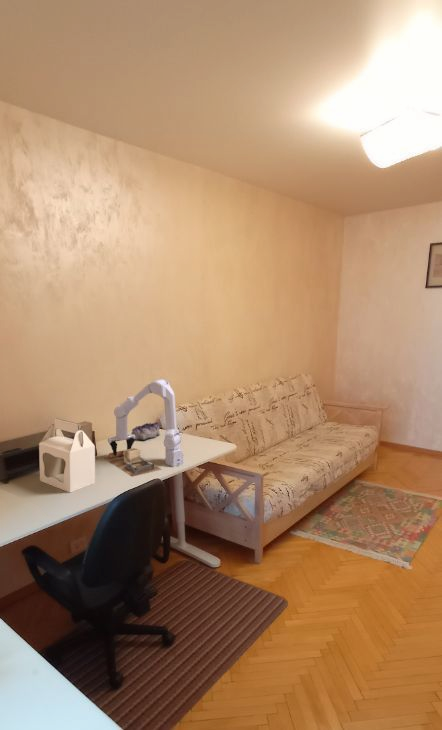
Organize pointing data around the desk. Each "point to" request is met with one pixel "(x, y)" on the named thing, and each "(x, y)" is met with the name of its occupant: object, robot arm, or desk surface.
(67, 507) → the desk surface
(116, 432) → the robot arm
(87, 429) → the decorative block
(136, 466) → the lane board
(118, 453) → the block
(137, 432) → the geode
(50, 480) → the gable box
